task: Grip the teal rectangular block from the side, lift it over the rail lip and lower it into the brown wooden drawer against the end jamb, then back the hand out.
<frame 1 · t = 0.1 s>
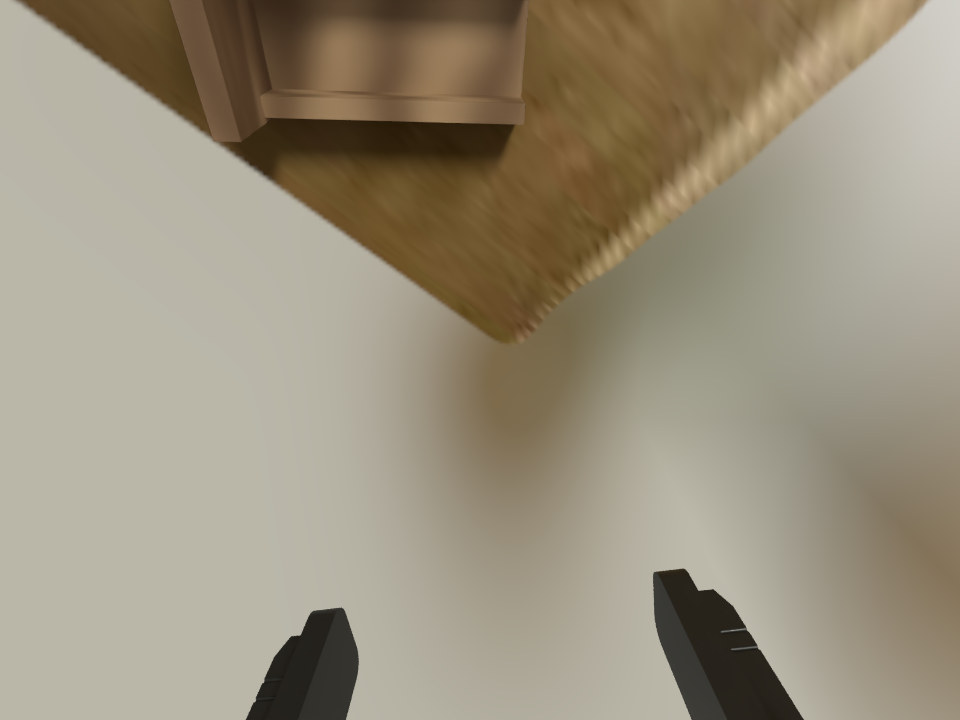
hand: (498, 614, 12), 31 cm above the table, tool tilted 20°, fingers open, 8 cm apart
brown wooden drawer: (384, 36, 29), on the table
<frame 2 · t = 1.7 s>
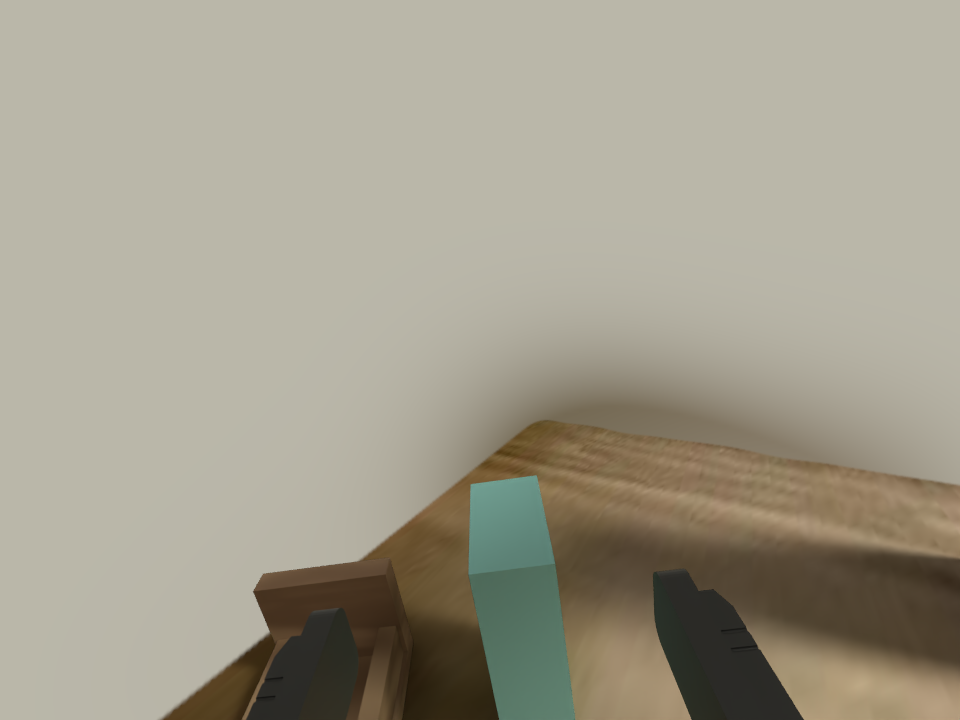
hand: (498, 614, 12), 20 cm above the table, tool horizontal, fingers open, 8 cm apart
teal rectangular block: (537, 699, 29), on the table
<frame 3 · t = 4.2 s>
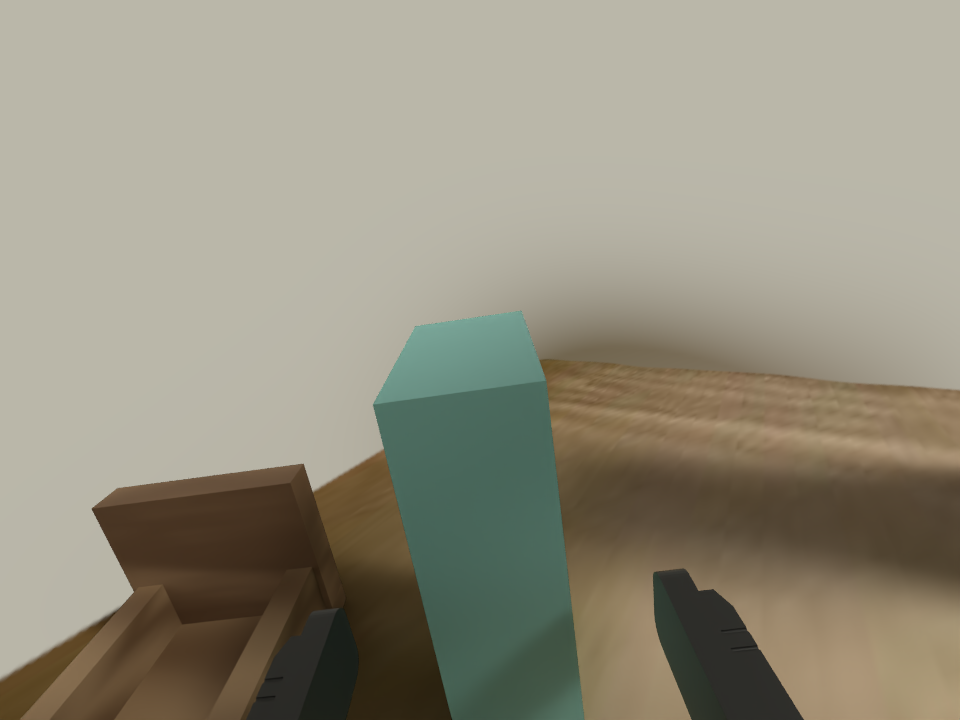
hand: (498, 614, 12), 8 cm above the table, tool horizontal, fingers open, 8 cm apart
teal rectangular block: (521, 677, 18), on the table
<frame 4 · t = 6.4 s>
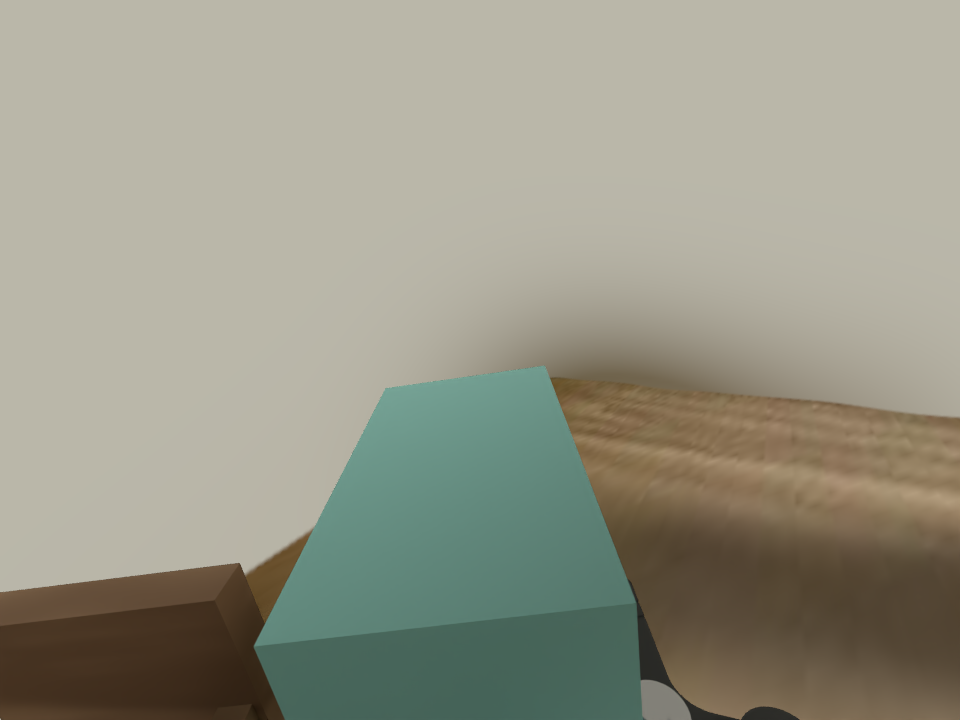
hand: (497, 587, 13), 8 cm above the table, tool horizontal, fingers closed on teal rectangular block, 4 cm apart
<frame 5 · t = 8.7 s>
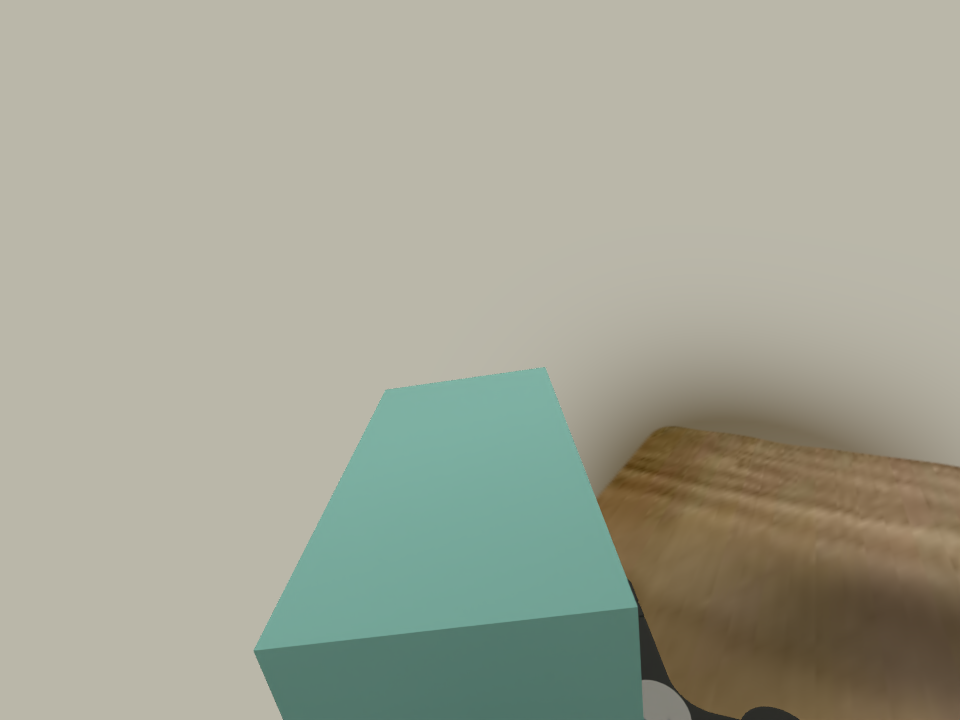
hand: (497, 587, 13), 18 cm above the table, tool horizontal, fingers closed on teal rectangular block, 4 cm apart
when the fingers open (10 cm above the table, at t = 10.8 s): teal rectangular block drops 1 cm, resting on brown wooden drawer.
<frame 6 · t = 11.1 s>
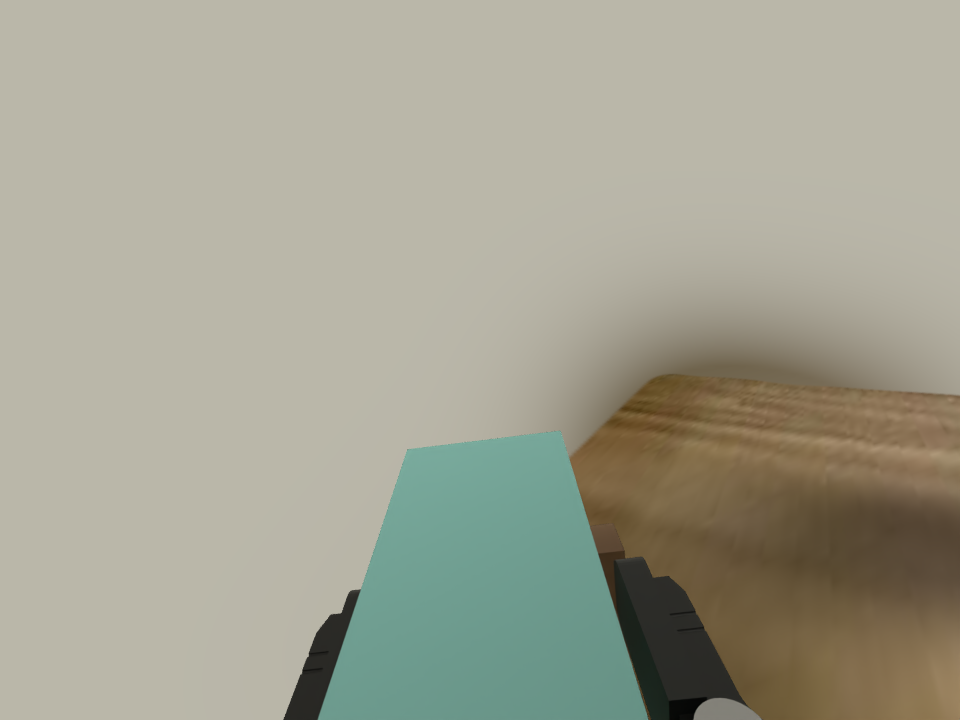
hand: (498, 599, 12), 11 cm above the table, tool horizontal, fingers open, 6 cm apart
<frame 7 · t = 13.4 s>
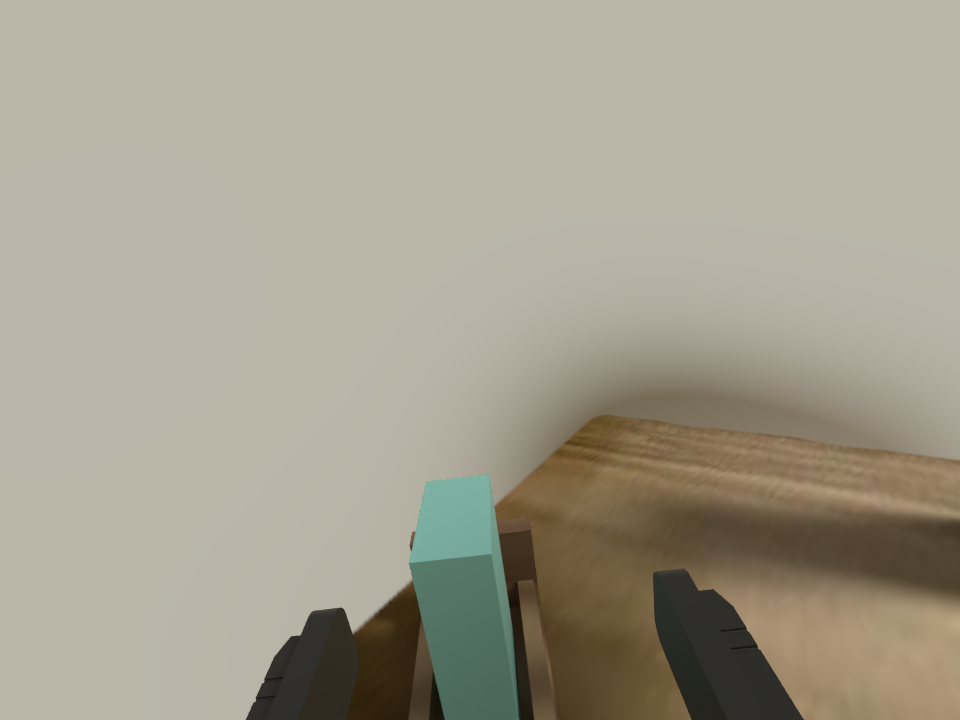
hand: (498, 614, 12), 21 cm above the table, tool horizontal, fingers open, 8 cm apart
teal rectangular block: (487, 695, 29), point 1 cm above the table, touching brown wooden drawer
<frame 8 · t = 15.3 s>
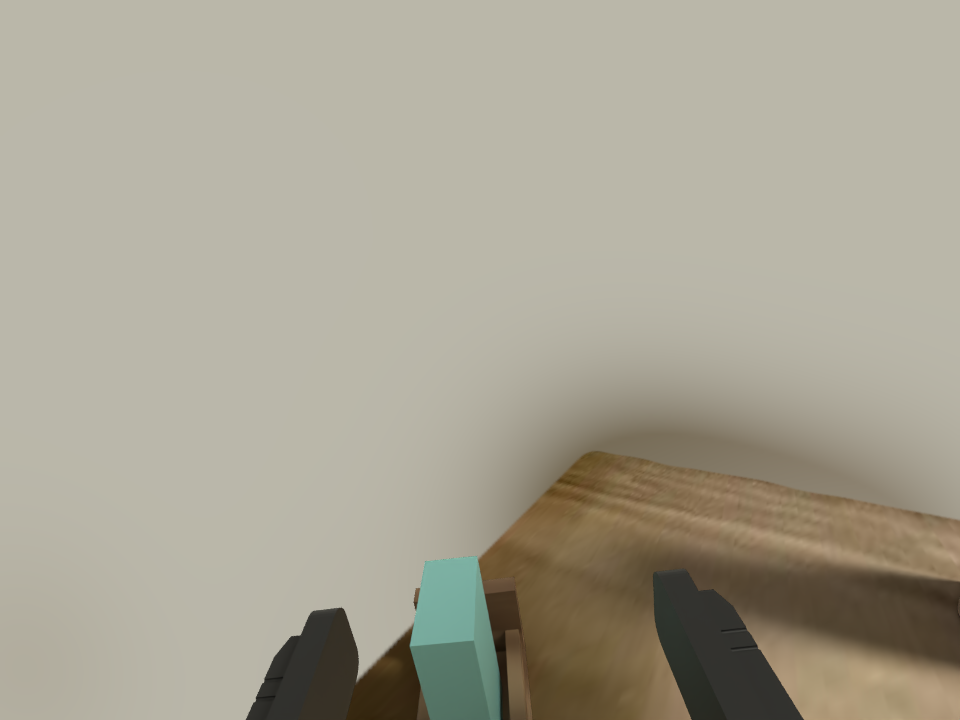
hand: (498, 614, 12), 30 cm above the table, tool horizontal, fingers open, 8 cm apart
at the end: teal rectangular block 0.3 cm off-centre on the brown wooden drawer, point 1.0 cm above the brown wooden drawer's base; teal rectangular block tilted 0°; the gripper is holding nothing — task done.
